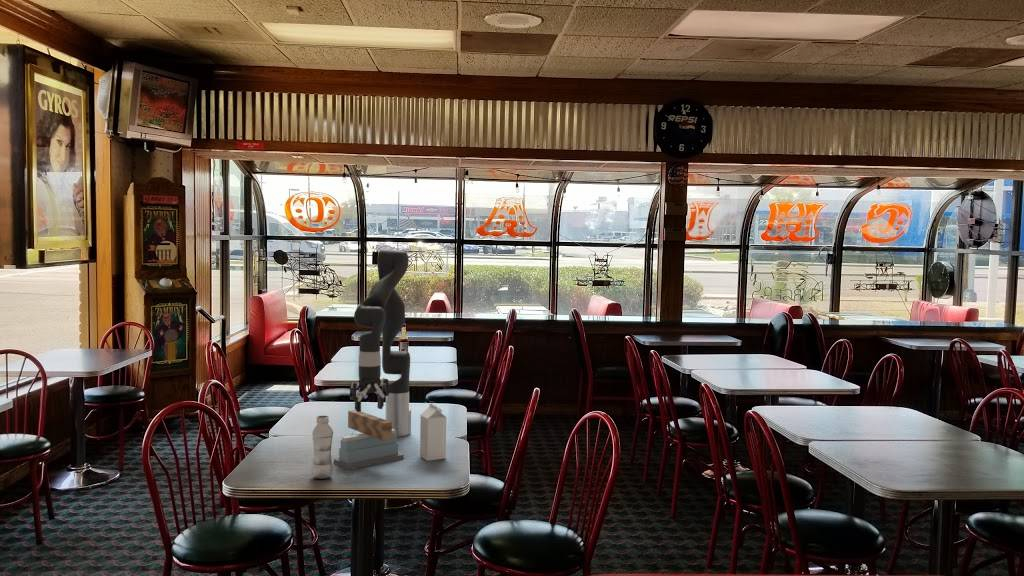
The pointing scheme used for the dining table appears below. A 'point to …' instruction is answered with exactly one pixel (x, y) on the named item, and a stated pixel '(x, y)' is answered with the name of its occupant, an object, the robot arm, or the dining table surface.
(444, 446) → the milk carton
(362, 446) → the fulcrum ridge
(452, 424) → the dining table surface
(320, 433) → the plastic bottle
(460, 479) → the dining table surface
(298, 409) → the dining table surface
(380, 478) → the dining table surface
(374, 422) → the walnut plank
